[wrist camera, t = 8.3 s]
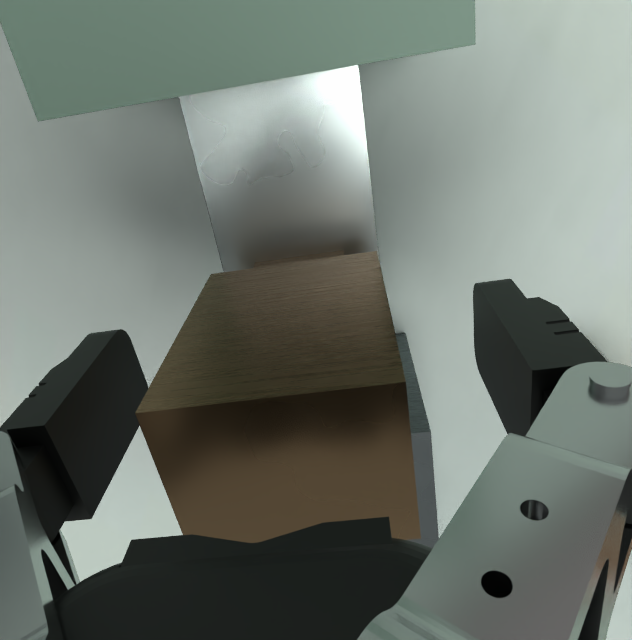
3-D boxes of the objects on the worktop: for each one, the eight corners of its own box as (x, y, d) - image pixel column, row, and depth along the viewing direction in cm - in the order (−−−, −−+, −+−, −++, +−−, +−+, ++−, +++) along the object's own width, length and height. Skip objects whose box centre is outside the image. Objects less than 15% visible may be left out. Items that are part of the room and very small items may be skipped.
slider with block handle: (297, 449, 22) (269, 765, 12) (183, -53, 14) (-154, -290, 4) (395, 439, 22) (446, 757, 12) (335, -84, 14) (340, -421, 4)
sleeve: (314, 583, 28) (310, 710, 22) (257, 351, 21) (232, 452, 16) (427, 574, 27) (450, 702, 22) (405, 333, 21) (430, 431, 15)
